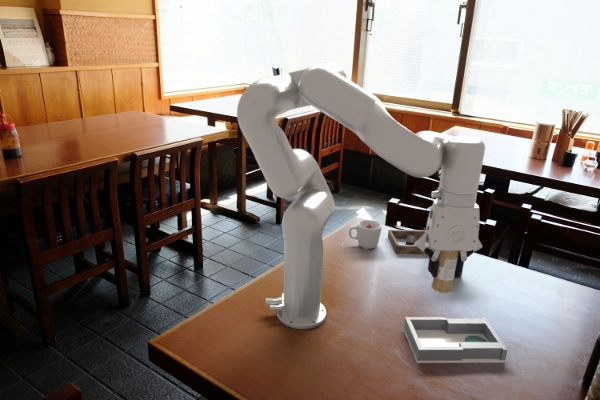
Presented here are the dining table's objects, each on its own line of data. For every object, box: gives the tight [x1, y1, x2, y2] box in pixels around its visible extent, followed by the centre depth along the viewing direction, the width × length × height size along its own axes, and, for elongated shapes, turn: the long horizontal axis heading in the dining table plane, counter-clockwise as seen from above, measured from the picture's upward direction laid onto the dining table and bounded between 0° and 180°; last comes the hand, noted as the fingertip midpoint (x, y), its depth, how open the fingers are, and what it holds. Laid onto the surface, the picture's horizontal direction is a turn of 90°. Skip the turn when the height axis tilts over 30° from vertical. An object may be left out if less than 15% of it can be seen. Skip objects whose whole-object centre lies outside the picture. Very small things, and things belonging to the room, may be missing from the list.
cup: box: [348, 219, 383, 250], centre depth 155 cm, size 11×8×8 cm
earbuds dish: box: [387, 229, 430, 256], centre depth 156 cm, size 15×13×3 cm
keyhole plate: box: [403, 316, 509, 364], centre depth 107 cm, size 20×12×4 cm, turn 92°
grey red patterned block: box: [404, 235, 417, 245], centre depth 155 cm, size 5×7×3 cm, turn 161°
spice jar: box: [431, 251, 458, 294], centre depth 100 cm, size 5×5×14 cm
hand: (444, 273), depth 101 cm, fingers closed on spice jar, 4 cm apart
